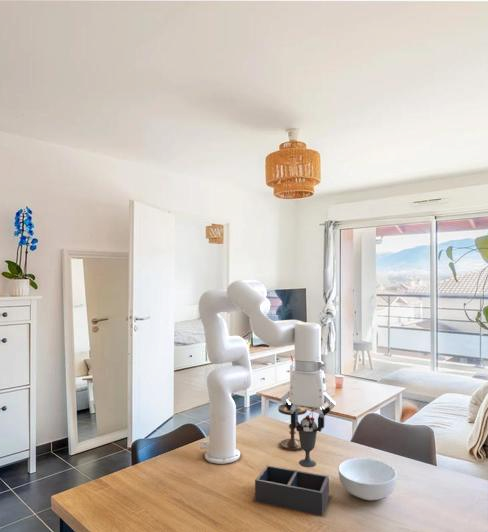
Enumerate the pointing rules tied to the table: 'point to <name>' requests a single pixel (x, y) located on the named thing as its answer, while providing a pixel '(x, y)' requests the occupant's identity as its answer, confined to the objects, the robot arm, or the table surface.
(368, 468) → the cereal bowl
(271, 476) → the caddy
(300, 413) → the candlestick
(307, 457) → the sundae
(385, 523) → the table surface
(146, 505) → the table surface
